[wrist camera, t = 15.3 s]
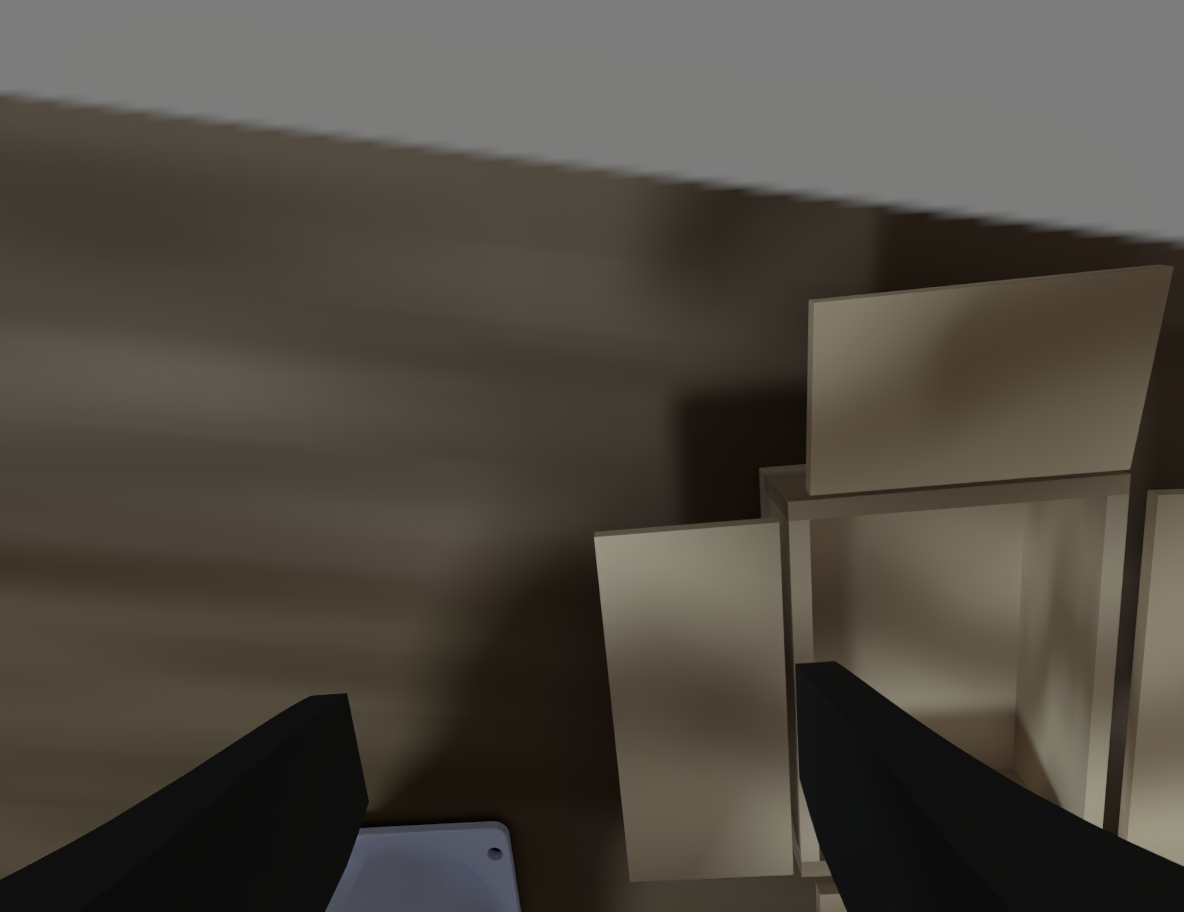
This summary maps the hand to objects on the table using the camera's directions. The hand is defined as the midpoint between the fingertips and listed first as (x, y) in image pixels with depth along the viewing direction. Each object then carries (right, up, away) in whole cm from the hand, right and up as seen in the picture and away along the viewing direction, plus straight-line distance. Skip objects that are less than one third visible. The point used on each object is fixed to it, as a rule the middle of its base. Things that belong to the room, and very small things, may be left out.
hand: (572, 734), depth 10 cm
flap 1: (+9, +6, +4) cm, 11 cm away
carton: (+8, -3, +11) cm, 14 cm away
